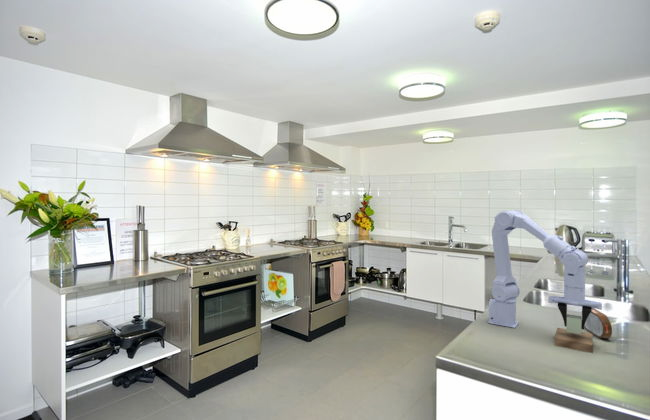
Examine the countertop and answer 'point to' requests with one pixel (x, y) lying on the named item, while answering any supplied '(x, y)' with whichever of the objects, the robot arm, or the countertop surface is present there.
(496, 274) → the robot arm
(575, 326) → the sage cube
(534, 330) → the countertop surface
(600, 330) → the tin
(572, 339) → the walnut block
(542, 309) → the countertop surface
